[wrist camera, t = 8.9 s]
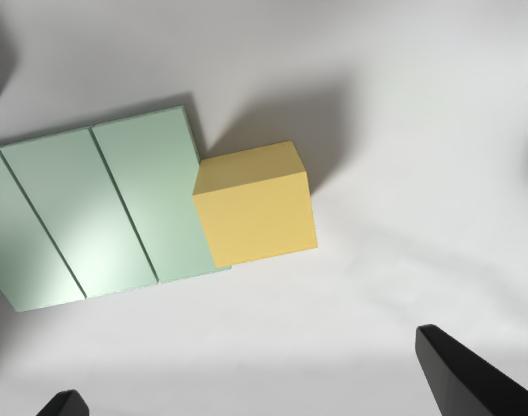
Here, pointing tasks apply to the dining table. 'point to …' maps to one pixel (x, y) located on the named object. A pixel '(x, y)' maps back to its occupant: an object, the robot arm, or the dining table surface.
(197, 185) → the grooved mint slab
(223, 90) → the dining table surface
